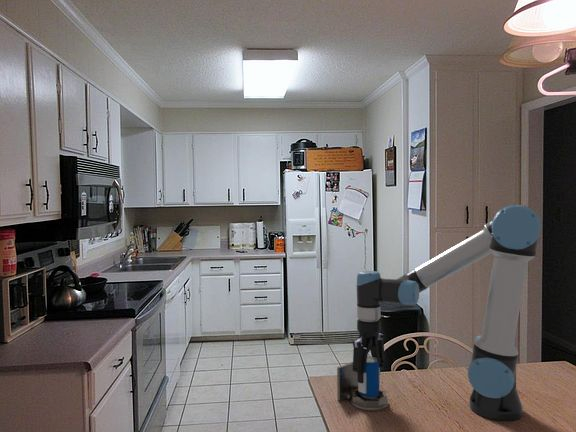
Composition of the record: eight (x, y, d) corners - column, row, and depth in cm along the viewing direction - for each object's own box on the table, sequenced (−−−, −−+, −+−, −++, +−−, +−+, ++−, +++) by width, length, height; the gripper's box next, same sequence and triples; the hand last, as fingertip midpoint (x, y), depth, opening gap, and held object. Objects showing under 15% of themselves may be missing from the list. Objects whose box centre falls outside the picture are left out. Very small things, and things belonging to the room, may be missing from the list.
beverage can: (378, 391, 151) (377, 356, 150) (380, 400, 144) (379, 362, 144) (358, 391, 151) (358, 355, 151) (359, 399, 145) (359, 362, 145)
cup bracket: (395, 403, 147) (395, 369, 147) (372, 414, 139) (372, 379, 139) (360, 390, 158) (360, 358, 158) (337, 400, 150) (337, 367, 150)
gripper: (377, 312, 156) (378, 378, 157) (340, 322, 144) (340, 394, 144) (395, 315, 151) (396, 384, 151) (358, 326, 138) (359, 401, 138)
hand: (369, 389), depth 148 cm, fingers closed on beverage can, 6 cm apart
